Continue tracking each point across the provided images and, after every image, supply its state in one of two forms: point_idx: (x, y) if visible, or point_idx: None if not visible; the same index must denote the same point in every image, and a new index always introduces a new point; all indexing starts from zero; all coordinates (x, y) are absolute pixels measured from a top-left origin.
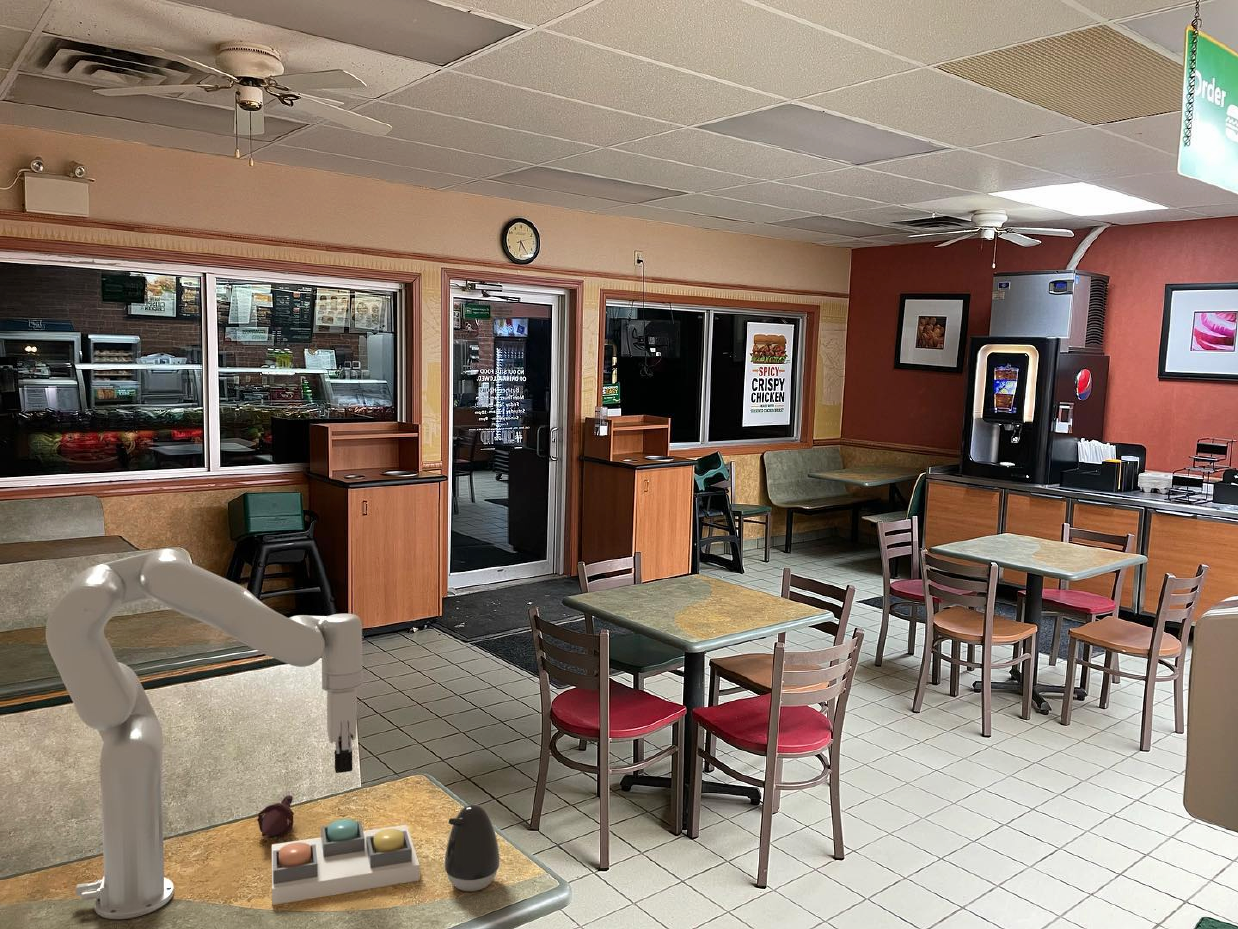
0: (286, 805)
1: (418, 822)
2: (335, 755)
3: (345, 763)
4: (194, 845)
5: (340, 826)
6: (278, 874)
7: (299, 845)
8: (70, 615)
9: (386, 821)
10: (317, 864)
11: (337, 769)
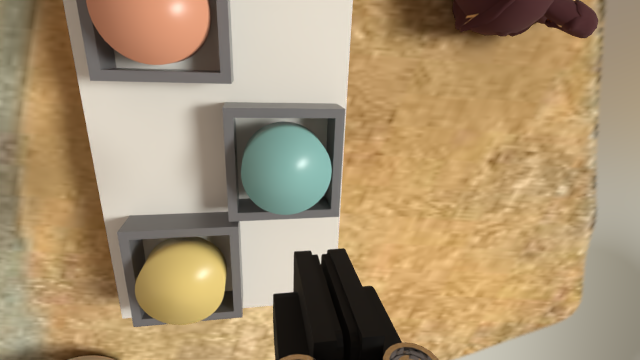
0: (528, 10)
1: (389, 302)
2: (311, 330)
3: (275, 344)
4: None
5: (284, 167)
6: None
7: (181, 26)
8: None
9: (422, 245)
10: (90, 80)
11: (295, 271)
